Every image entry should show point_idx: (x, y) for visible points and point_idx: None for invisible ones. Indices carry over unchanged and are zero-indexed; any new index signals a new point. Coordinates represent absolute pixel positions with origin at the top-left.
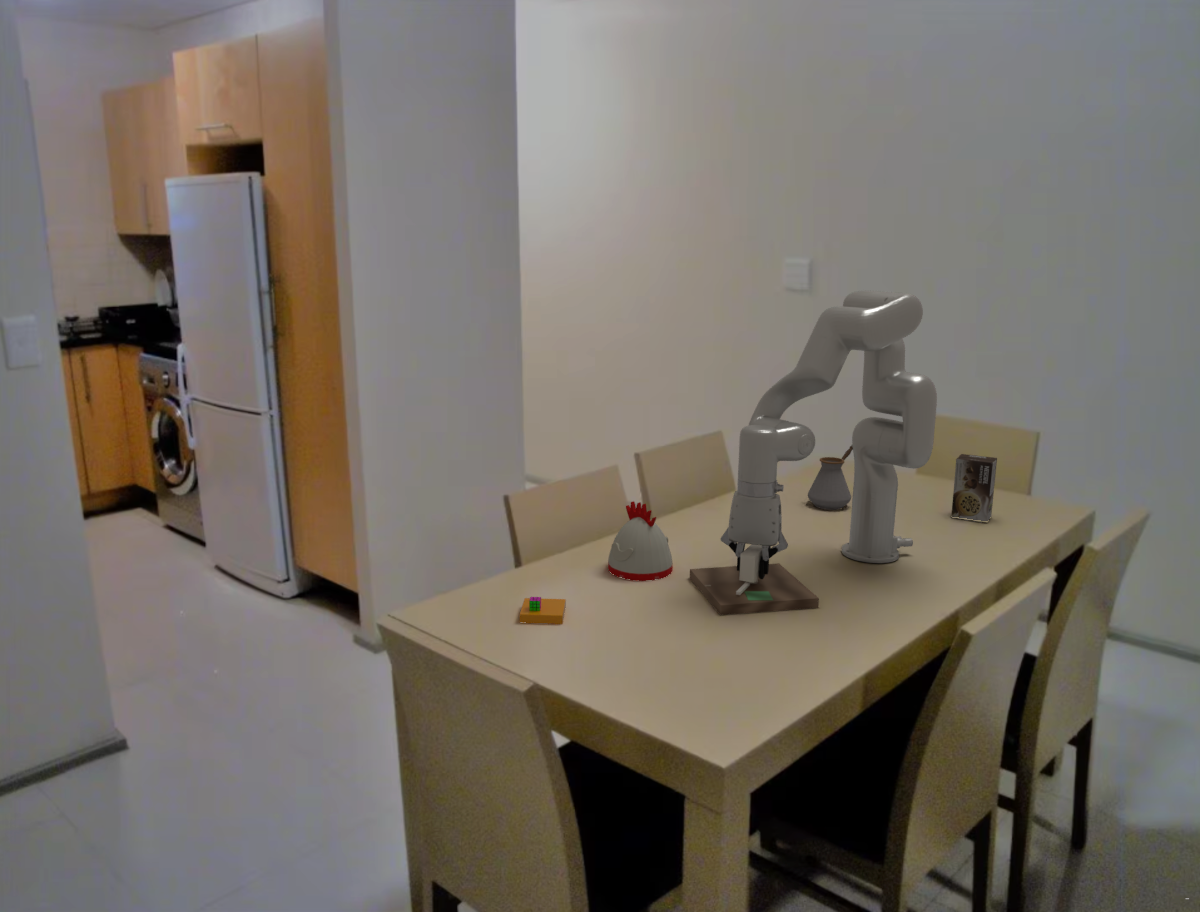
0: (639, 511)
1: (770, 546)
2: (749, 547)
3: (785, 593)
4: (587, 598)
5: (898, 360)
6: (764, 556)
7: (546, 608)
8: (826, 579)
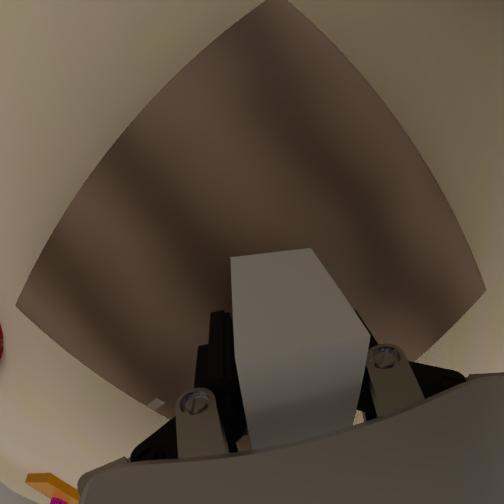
0: None
1: (420, 395)
2: (256, 418)
3: (408, 322)
4: (33, 449)
5: None
6: (373, 415)
7: (64, 499)
8: (441, 24)
